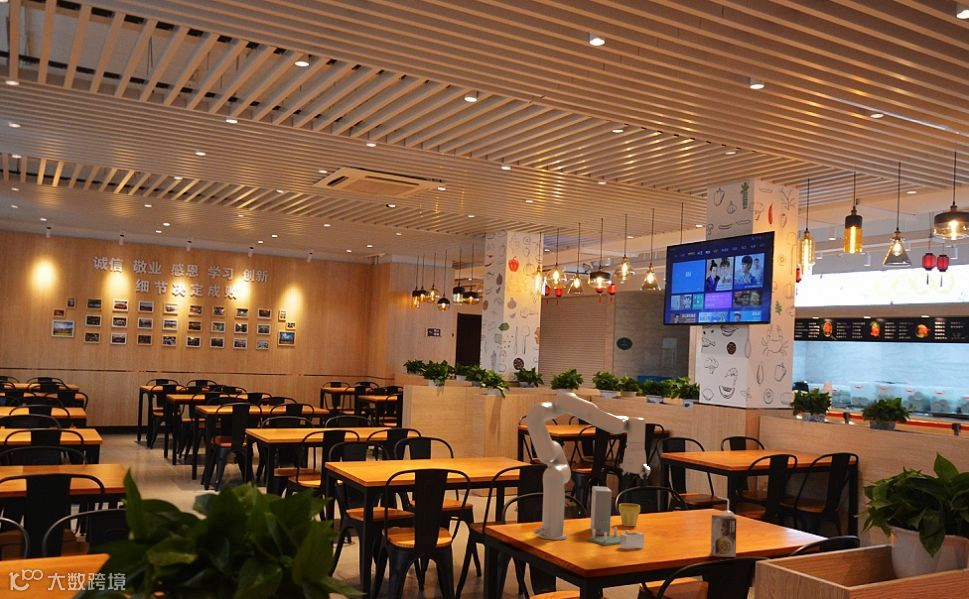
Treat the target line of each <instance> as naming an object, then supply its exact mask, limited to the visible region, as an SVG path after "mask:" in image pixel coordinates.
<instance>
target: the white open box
mask: <svg viewBox="0 0 969 599" xmlns="http://www.w3.org/2000/svg"><path fill="white" fill-rule="evenodd" d="M619 536H620V544H619V549H622V548H623V549H622V550H625V549H629V550H636V549H635V548H639V549H644V544H645V543H644V542H645V541H644V540H645V534H644V533H642V532H639V531H637V532H628V533H626V532H625V533H624V532H623V533H620V534H619Z"/></svg>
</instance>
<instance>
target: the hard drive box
mask: <svg viewBox="0 0 969 599" xmlns="http://www.w3.org/2000/svg"><path fill="white" fill-rule="evenodd" d="M612 494H613V491H612V490H611V489H610V488H609V487H607V486H595V485H593V486H592V488H591V505H590V506H591V509H590V530H591V532H592V533H593V529H595V536H596V535H600V536H604V533H607V536H611V535H610V534H611V522H612V519H611V517H612V515H611V514H612Z"/></svg>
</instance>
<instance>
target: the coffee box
mask: <svg viewBox="0 0 969 599" xmlns="http://www.w3.org/2000/svg"><path fill="white" fill-rule="evenodd" d="M736 518H737V517H736V516H735V517H733V516H724V515H720V514H712V515H711V527H710V528H711V529H710V530H711V532H710V533H711V534H710V535H711V536H710V553H711V555H712V556H714V557H722V558H723V557H727V558H729V557H730V558H731V557H732V558H735V557H737V521H738V518H737V519H736ZM736 520H737V521H736Z"/></svg>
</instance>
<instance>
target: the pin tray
mask: <svg viewBox="0 0 969 599" xmlns="http://www.w3.org/2000/svg"><path fill="white" fill-rule="evenodd" d="M617 531H618V527H617V526H614V527H613V534H612V535H607V533H604V535H601V536H597V537H596V534H595V529H593V532H592V537H587V540H588V542H591V543H594V542H595V543H594V544H597V543H598V545H600V546H605V547H607V546H606V545H608V546H613V545H614V544H616V545H620V535H618V534H617V533H618V532H617ZM629 531H630V530H628V529H626V530H625V533H629Z"/></svg>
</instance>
